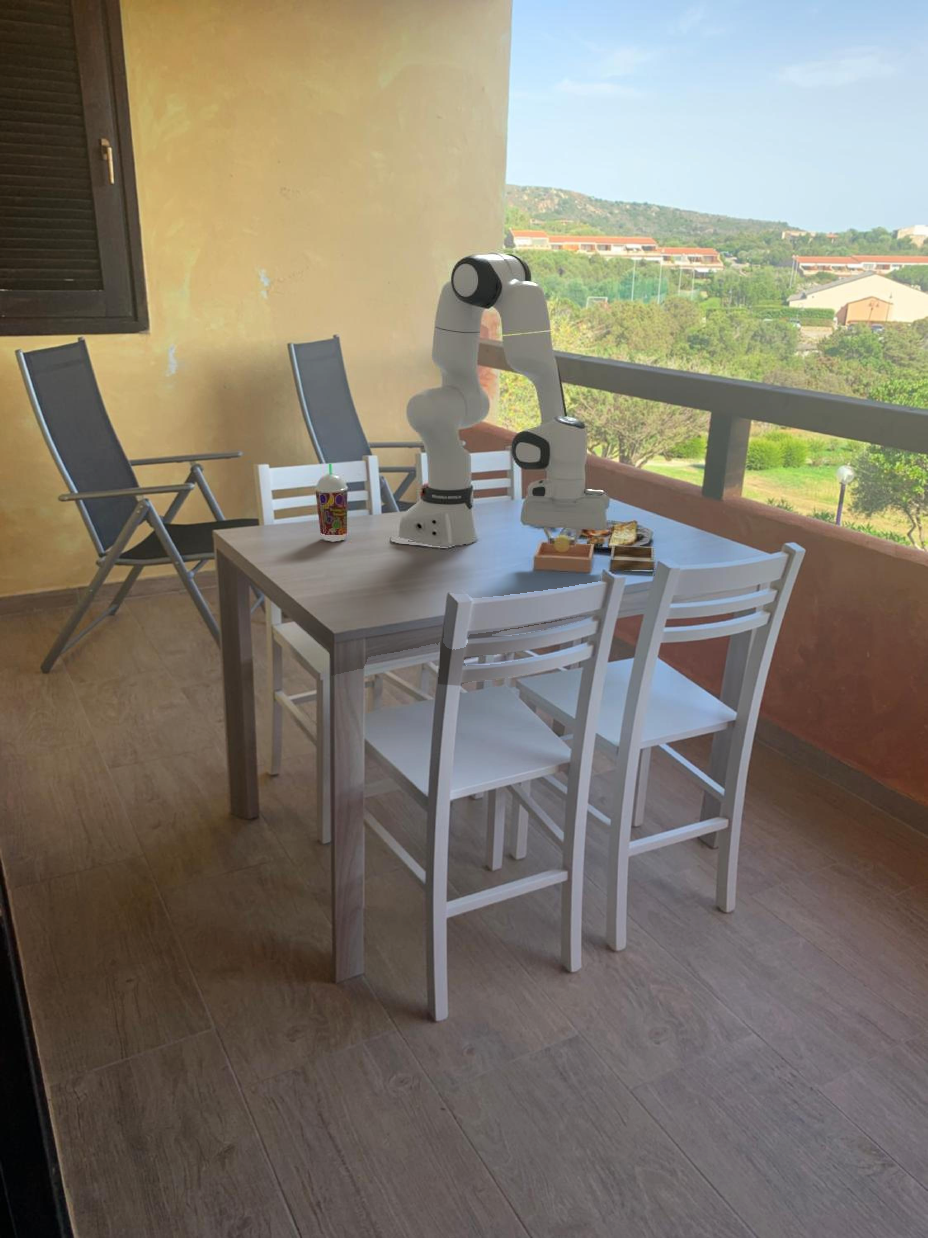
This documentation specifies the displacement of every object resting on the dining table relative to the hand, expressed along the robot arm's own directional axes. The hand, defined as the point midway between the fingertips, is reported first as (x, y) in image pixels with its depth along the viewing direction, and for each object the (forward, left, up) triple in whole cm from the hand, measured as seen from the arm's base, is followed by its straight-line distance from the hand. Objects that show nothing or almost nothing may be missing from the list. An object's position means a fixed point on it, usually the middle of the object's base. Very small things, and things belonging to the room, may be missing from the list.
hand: (561, 544), depth 218 cm
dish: (+1, 0, -4) cm, 4 cm away
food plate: (+10, +22, -5) cm, 24 cm away
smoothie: (-60, +9, -4) cm, 61 cm away
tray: (+17, +2, -4) cm, 17 cm away
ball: (0, 0, 0) cm, 0 cm away
